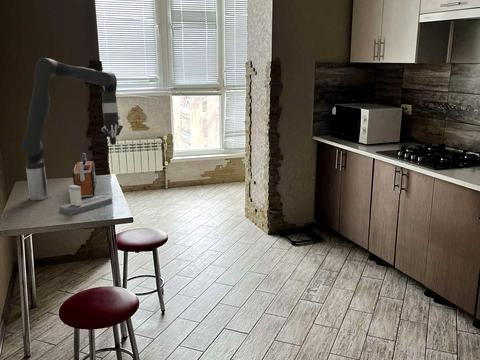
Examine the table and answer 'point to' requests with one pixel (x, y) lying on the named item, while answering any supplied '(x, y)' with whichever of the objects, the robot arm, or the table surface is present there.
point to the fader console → (86, 205)
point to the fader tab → (75, 195)
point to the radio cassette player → (85, 176)
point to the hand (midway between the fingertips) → (113, 144)
